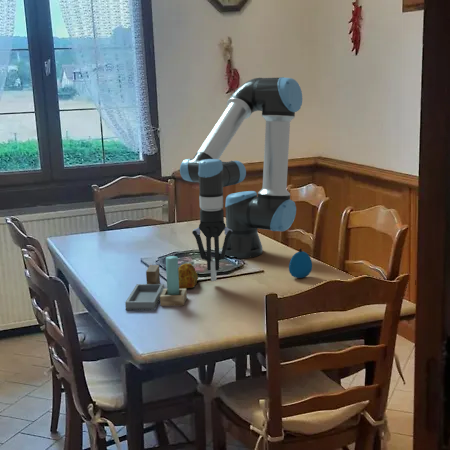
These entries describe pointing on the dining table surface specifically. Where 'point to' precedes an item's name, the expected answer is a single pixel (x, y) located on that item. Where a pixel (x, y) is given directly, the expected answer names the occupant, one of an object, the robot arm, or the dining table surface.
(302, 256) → the ornament
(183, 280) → the rock
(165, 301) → the socket block
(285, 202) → the robot arm
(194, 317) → the dining table surface
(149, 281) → the block
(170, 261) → the dowel
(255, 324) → the dining table surface
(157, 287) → the tray
